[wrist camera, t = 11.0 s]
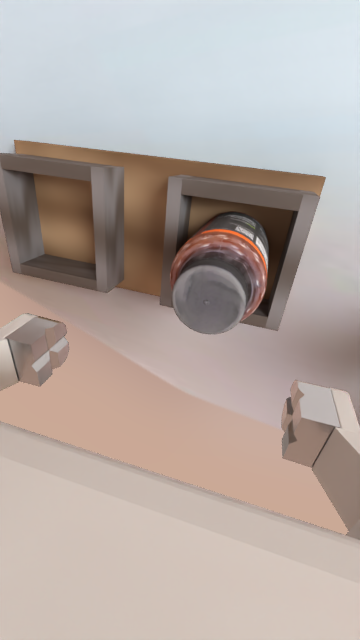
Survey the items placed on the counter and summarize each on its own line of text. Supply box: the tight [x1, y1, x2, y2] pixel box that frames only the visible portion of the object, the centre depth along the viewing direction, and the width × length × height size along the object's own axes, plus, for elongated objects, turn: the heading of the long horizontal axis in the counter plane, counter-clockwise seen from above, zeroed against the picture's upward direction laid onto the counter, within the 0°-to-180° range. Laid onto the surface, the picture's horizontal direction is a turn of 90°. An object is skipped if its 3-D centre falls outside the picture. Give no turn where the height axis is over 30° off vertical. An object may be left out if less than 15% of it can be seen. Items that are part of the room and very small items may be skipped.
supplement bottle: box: [170, 211, 269, 334], centre depth 20 cm, size 6×6×11 cm
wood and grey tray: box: [0, 140, 326, 331], centre depth 25 cm, size 12×26×5 cm, turn 85°
